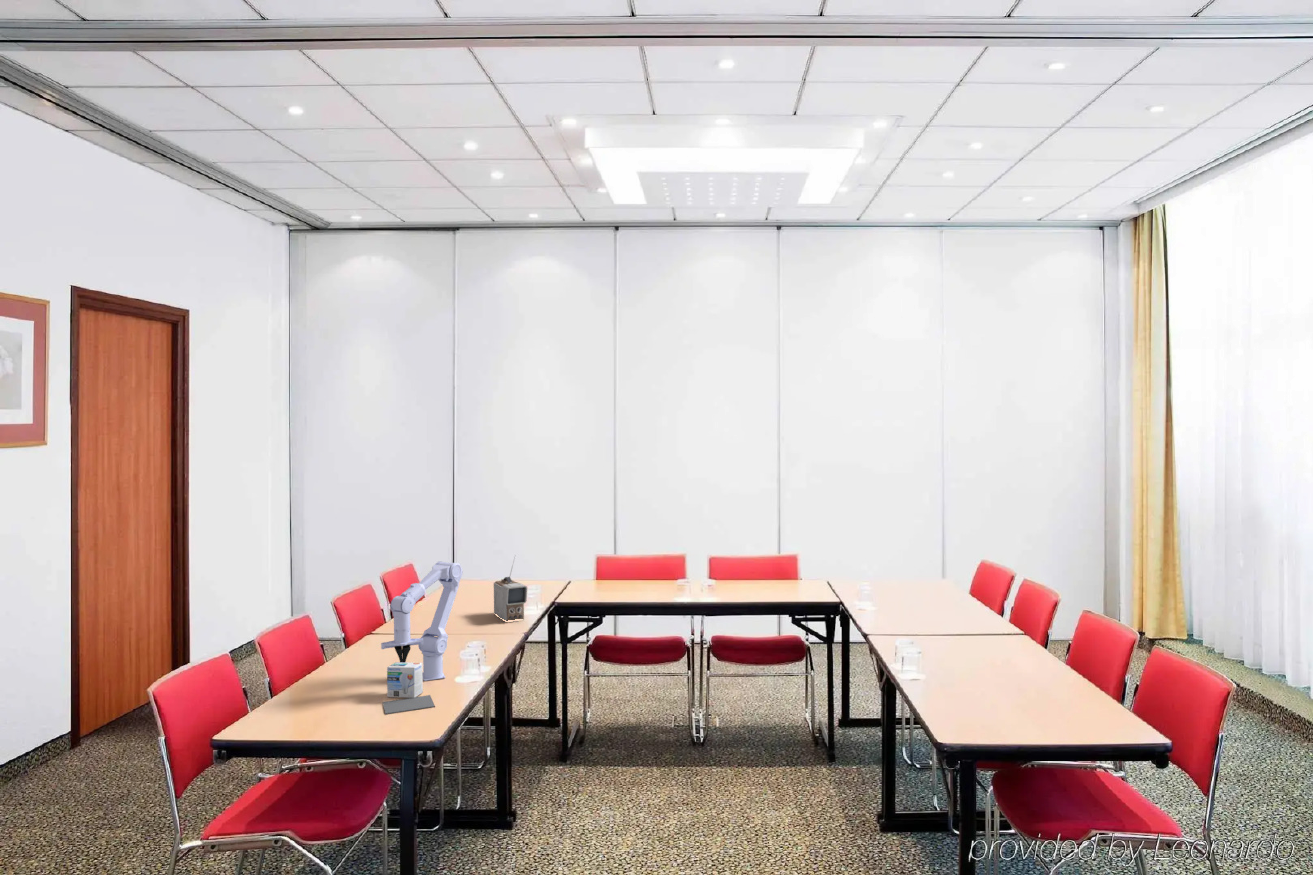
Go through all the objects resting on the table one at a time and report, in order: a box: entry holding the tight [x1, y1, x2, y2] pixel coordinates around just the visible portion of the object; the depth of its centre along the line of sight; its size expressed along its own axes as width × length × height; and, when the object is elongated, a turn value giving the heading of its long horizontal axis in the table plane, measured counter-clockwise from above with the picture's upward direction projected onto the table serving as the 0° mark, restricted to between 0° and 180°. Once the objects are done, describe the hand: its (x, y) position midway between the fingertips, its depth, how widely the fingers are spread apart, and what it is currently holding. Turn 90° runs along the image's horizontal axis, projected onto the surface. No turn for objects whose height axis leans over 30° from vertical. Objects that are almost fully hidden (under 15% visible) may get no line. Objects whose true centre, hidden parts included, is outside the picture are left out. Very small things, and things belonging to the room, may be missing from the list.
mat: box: [382, 694, 436, 715], centre depth 266 cm, size 12×16×1 cm
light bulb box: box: [386, 661, 424, 699], centre depth 276 cm, size 11×7×11 cm, turn 82°
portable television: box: [493, 554, 528, 621], centre depth 387 cm, size 12×24×30 cm, turn 29°
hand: (402, 666), depth 283 cm, fingers closed
